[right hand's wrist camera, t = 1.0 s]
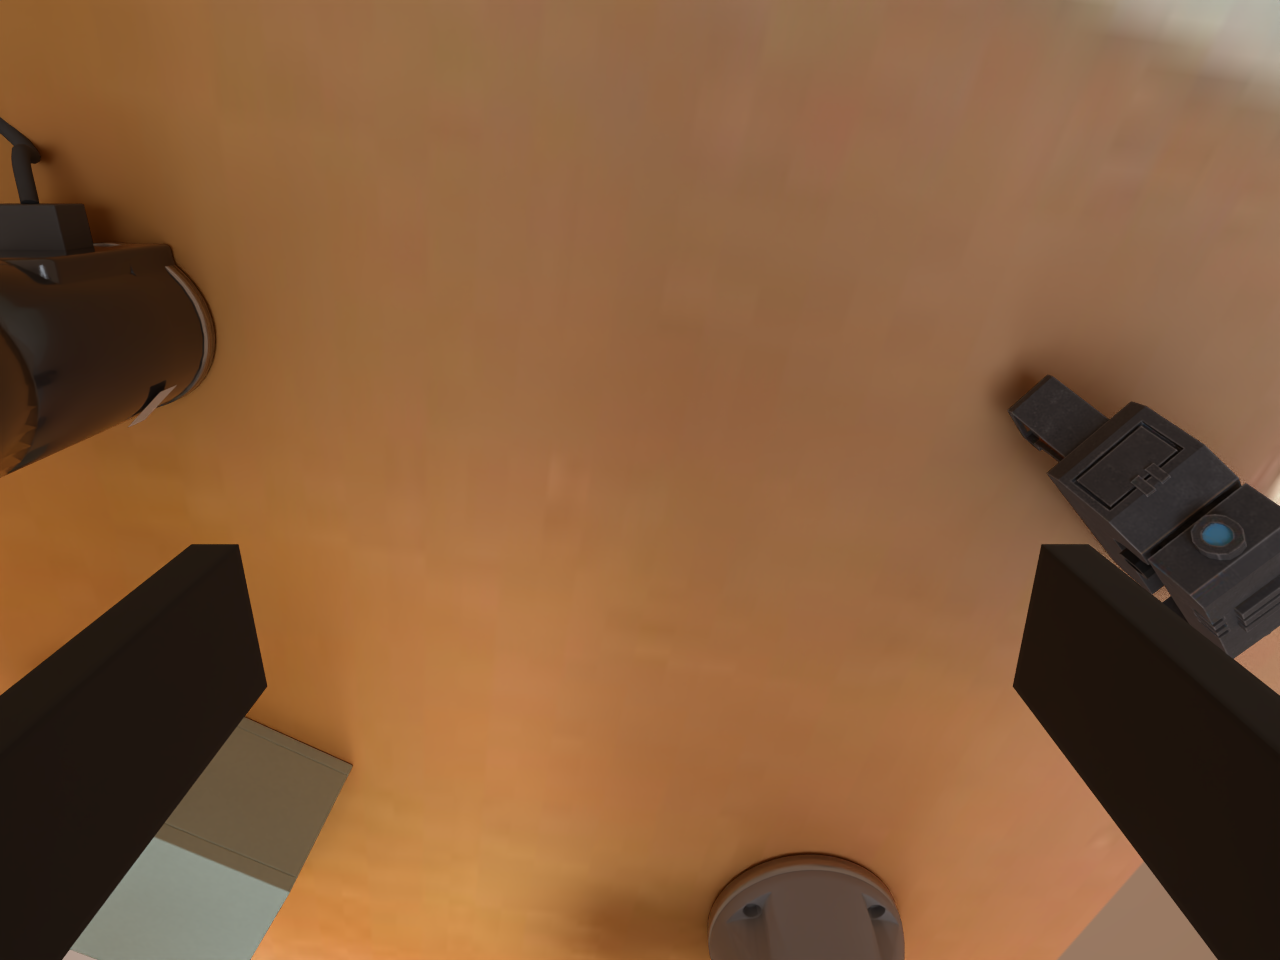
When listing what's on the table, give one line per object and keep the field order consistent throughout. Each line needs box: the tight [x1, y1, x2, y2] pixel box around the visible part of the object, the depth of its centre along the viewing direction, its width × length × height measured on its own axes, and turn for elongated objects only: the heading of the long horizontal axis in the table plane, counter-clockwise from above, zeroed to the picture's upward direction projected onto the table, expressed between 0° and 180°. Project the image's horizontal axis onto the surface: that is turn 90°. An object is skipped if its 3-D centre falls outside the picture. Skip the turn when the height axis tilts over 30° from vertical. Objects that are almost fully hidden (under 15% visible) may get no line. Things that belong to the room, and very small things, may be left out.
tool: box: [1007, 375, 1280, 659], centre depth 44 cm, size 6×19×15 cm, turn 48°
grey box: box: [70, 717, 352, 960], centre depth 52 cm, size 13×12×11 cm
